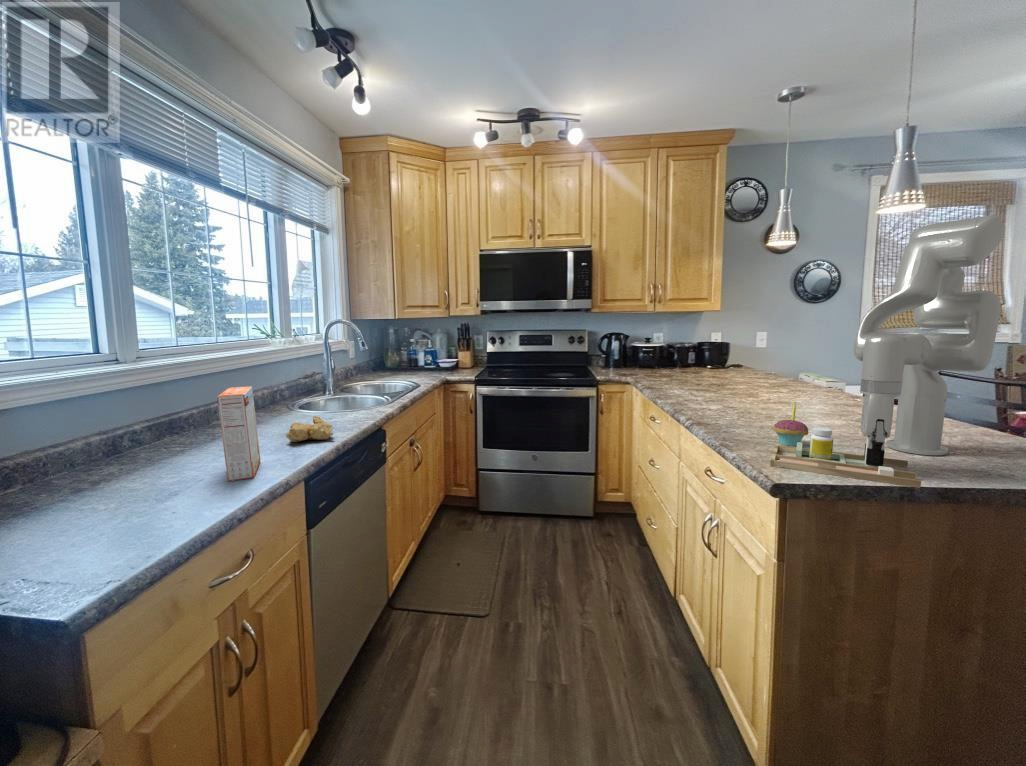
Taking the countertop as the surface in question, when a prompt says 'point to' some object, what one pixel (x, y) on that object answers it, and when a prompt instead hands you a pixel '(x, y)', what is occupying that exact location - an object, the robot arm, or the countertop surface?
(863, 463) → the green handled square frame
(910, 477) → the lane rails
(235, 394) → the cracker box
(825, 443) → the supplement bottle
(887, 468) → the broken strip
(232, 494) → the countertop surface
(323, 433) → the ginger root
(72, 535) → the countertop surface
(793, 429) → the cupcake
